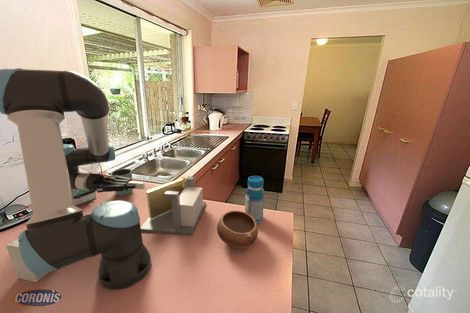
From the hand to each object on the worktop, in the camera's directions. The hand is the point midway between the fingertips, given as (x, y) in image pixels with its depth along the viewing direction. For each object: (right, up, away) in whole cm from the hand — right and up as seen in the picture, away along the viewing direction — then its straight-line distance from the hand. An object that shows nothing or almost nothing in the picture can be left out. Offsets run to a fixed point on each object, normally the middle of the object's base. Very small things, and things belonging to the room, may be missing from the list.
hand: (143, 185), depth 90 cm
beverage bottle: (+47, -16, +7) cm, 50 cm away
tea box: (-43, -9, +21) cm, 49 cm away
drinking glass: (-23, -7, +28) cm, 37 cm away
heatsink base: (+13, -15, +7) cm, 21 cm away
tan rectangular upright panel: (+8, -12, +9) cm, 17 cm away
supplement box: (-23, -24, -22) cm, 41 cm away
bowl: (+40, -21, -7) cm, 45 cm away
